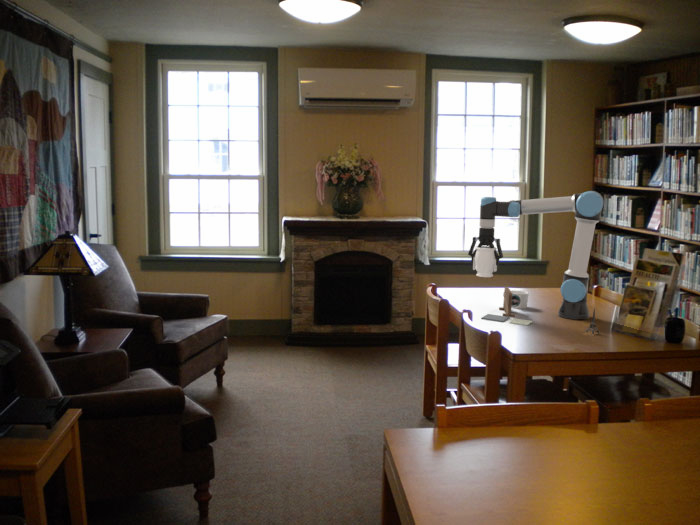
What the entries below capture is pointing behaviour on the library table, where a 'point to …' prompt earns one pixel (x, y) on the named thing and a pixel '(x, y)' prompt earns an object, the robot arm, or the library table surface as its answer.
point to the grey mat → (495, 317)
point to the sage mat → (520, 321)
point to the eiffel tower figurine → (592, 324)
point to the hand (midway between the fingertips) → (484, 270)
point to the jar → (485, 261)
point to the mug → (519, 299)
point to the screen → (507, 303)
